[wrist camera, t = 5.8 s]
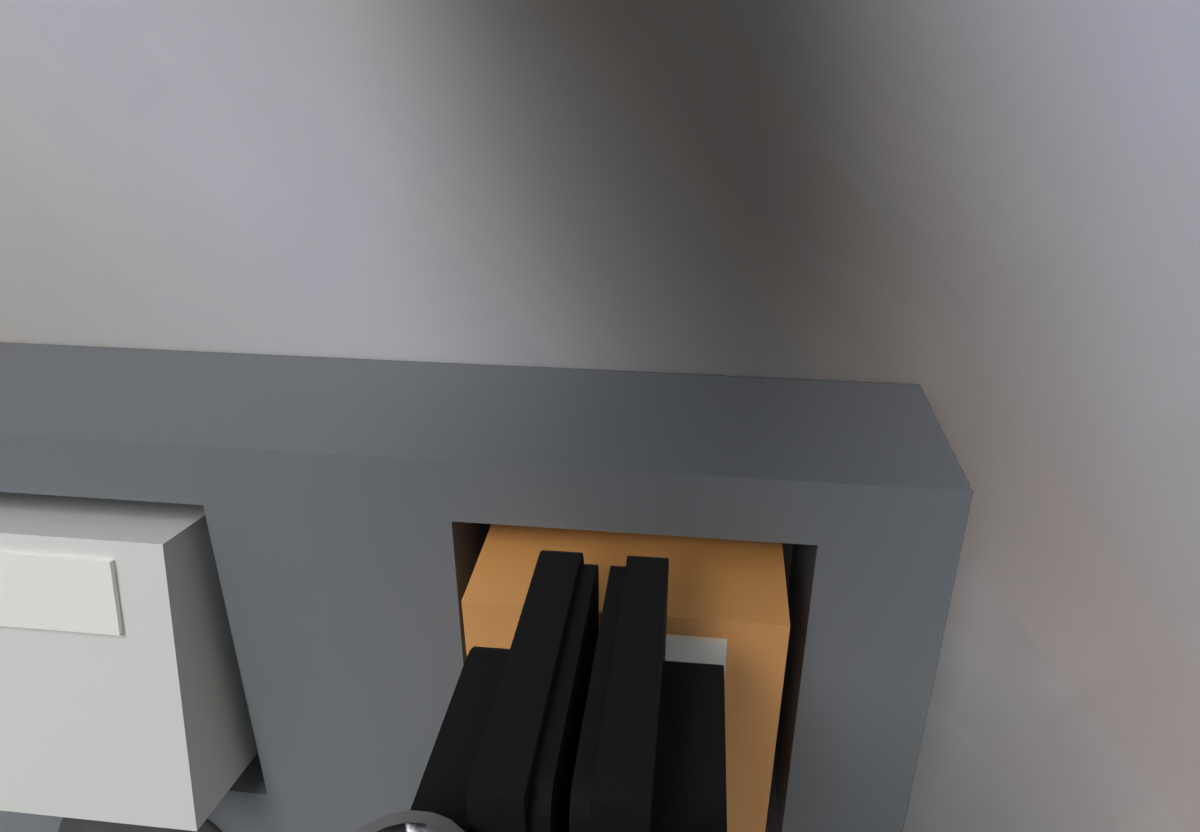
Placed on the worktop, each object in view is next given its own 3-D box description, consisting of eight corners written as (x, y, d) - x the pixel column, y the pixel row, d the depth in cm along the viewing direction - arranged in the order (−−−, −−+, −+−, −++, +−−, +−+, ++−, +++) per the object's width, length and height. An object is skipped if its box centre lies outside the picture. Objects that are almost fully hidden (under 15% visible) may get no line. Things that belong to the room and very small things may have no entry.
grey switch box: (842, 844, 20) (866, 1015, 16) (77, 768, 22) (-37, 908, 18) (919, 384, 15) (976, 496, 12) (-70, 339, 17) (-258, 424, 14)
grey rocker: (257, 753, 16) (193, 835, 14) (33, 732, 17) (-59, 808, 15) (232, 496, 15) (158, 547, 13) (-11, 480, 16) (-117, 527, 14)
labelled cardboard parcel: (756, 768, 16) (760, 877, 14) (510, 745, 16) (483, 848, 14) (781, 535, 14) (791, 631, 12) (493, 517, 14) (459, 605, 12)
